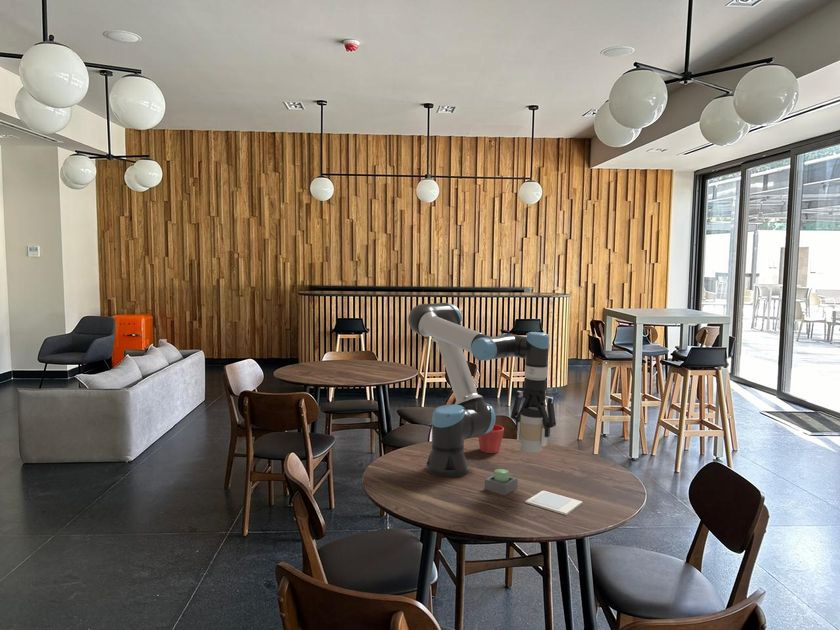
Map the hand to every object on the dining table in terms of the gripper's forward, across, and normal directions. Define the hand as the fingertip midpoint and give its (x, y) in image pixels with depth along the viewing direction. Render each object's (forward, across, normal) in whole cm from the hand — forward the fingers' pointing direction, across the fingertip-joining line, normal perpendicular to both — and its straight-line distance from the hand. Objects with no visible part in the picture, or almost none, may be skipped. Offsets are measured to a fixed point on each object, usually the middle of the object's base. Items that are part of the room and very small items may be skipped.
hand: (531, 442), depth 206 cm
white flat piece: (+15, +14, -9) cm, 22 cm away
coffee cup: (+3, 0, 0) cm, 3 cm away
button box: (+15, -5, -10) cm, 19 cm away
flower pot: (+16, -30, +23) cm, 41 cm away
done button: (+13, -5, -10) cm, 17 cm away
